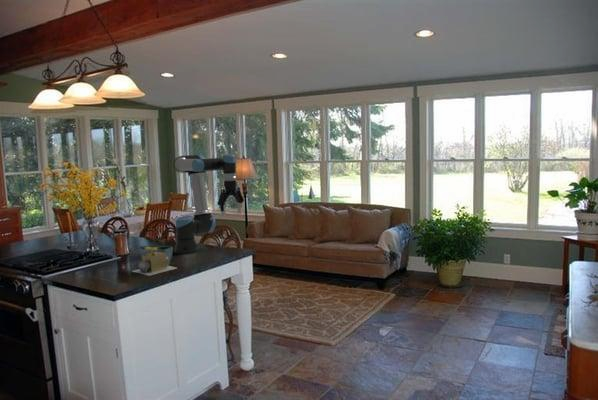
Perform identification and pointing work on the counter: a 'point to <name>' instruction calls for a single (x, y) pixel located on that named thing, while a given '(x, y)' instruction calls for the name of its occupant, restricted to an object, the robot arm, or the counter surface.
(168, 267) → the mat
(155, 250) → the lever
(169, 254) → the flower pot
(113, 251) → the counter surface
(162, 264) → the valve
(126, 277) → the counter surface
